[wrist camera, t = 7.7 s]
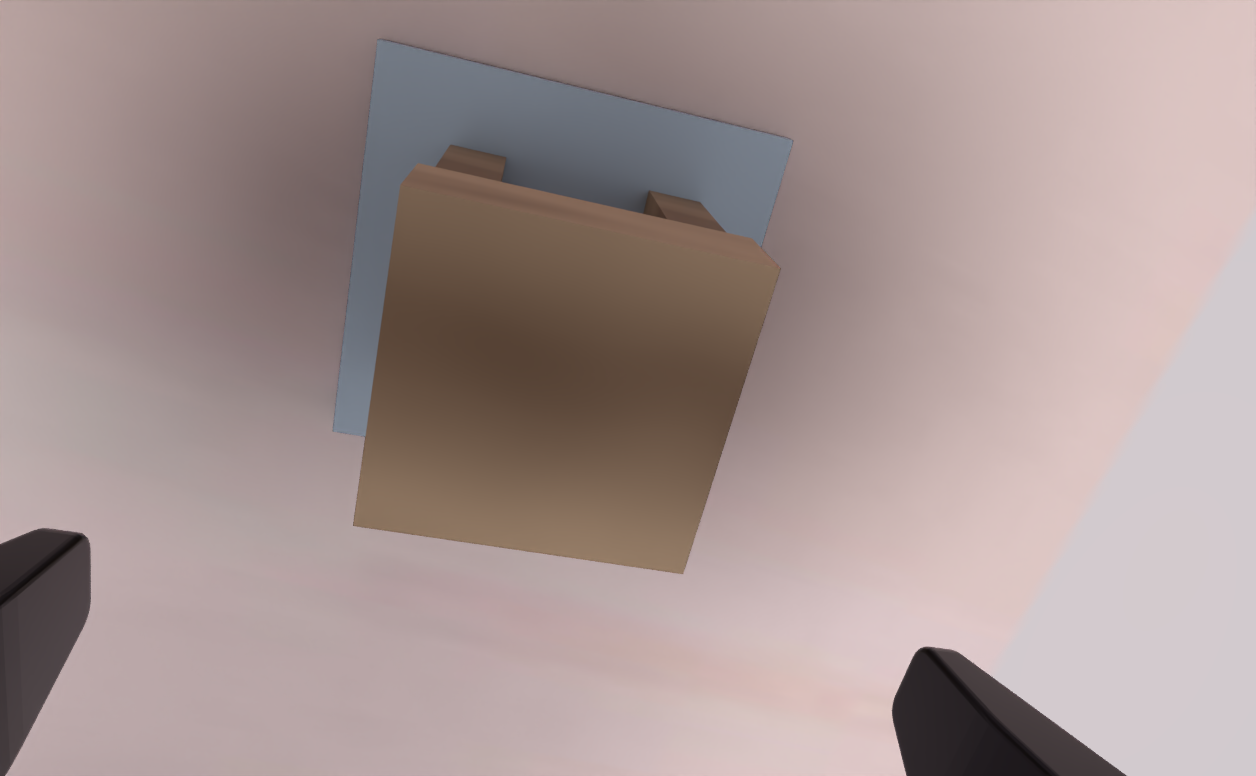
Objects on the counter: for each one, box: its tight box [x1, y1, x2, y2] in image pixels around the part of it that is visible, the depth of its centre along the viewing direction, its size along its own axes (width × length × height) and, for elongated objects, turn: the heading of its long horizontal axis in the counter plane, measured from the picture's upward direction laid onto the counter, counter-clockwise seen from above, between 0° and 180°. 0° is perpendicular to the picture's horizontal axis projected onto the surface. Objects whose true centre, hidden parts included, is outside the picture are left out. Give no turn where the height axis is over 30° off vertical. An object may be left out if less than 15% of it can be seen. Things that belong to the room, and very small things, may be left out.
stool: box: [353, 144, 781, 574], centre depth 17 cm, size 6×6×6 cm
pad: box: [333, 39, 793, 437], centre depth 20 cm, size 9×9×1 cm
